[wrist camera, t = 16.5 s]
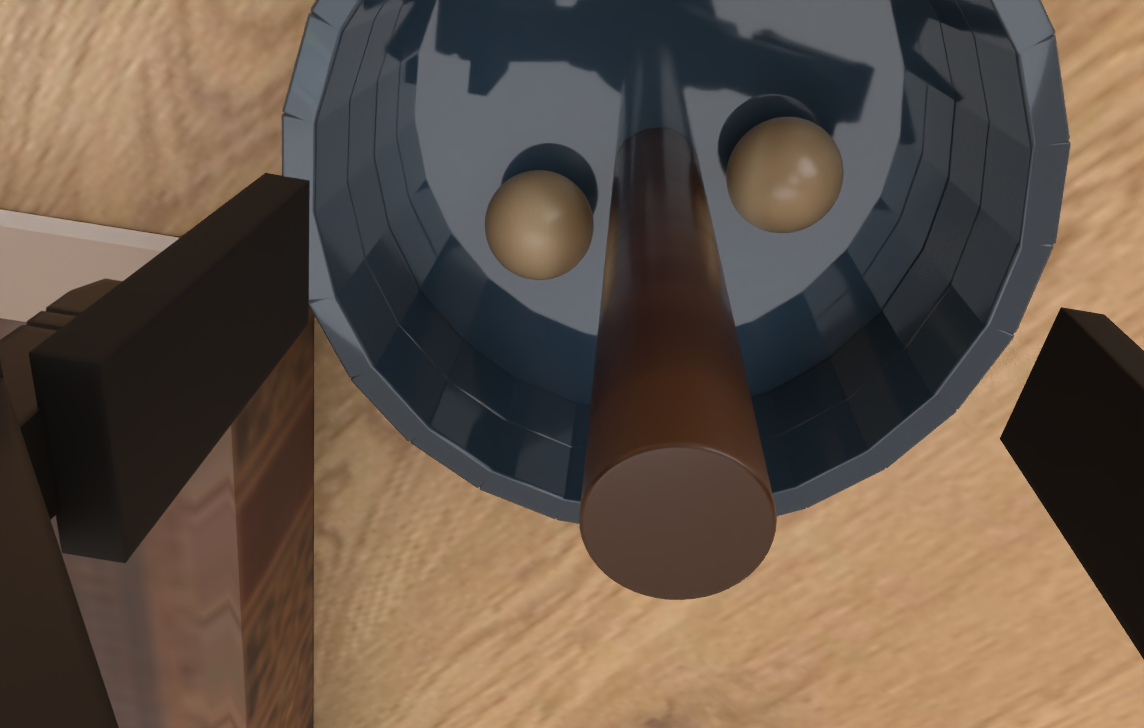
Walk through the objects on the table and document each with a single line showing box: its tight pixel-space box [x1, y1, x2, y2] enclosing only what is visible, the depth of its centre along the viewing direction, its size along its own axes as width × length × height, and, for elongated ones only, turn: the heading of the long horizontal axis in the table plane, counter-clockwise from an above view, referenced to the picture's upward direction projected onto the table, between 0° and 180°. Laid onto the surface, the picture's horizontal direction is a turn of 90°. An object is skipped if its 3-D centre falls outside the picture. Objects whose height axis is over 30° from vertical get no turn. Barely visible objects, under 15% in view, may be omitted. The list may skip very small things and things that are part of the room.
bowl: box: [282, 0, 1070, 524], centre depth 23 cm, size 18×18×6 cm
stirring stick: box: [579, 128, 777, 600], centre depth 18 cm, size 2×2×16 cm
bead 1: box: [485, 170, 594, 280], centre depth 24 cm, size 3×3×3 cm
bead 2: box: [726, 117, 844, 233], centre depth 23 cm, size 3×3×3 cm
